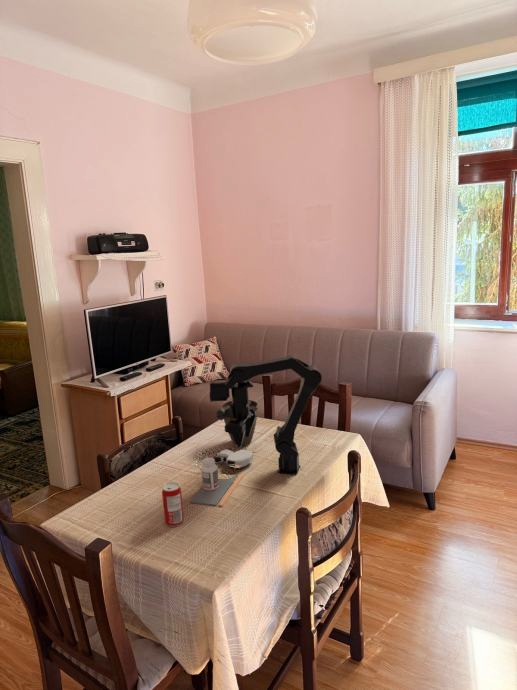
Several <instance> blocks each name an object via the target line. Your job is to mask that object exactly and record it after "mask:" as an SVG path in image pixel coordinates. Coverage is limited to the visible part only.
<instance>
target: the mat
mask: <svg viewBox="0 0 517 690" xmlns="http://www.w3.org/2000/svg"><path fill="white" fill-rule="evenodd" d="M235 475H236V476H233V477H232V478H229V479H218V480H219V487H218V488H217V489H215V490H205V489H204V488H203V485H202V486H201V487H200V489H198V491H197V492H196V493H195V494H194V496H193V497H191V498H192V499H191V500H190V501H189V503H190V504H196V505H197V504H198V505H206V506H213V507H217V505H219V504H220V502H221V501H222V499H223V498H224V497H225V495H226V494H227V492H228V491H229V489H230V488H231V487H232V485H233V484H234V482H235V481H236V479H237V478H238V474H235ZM236 477H237V478H236ZM235 478H236V479H235ZM233 481H234V482H233Z"/></svg>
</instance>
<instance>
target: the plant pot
mask: <svg viewBox="0 0 517 690" xmlns="http://www.w3.org/2000/svg"><path fill="white" fill-rule="evenodd" d="M250 400H251V403H250V404H249V406H255V407H256V408H257V411H259V410H258V409H259V403H258V402H257V401H255V400H252V399H250ZM231 403H232V400H230V401H225V402H224V403H222V404H221V406H220V409H221V408H223V407H226V406H229V405H230V404H231ZM257 418H258V414H257V415H256V419H255V421H254V424H253V427H252V429H251V432H250V435H249V437H246V435H245V434H244V438H243V441H242V445H241V447H244V446H247V445H250V444H251V442H252V440H253V438H254V434H255V431H256V430H255V429H256V424H257V421H258V420H257ZM223 420H224V426H225V425H226V424H227V423H228V422H229V421H230V420H236V419H230V417H228V418H225V419H223ZM228 436H229V437H230V439H231V441H232V444H233V445H234V446H237V445H236V442H235V440H234V437H233V436H232V434H230V433H228Z"/></svg>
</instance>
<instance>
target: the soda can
mask: <svg viewBox="0 0 517 690" xmlns="http://www.w3.org/2000/svg"><path fill="white" fill-rule="evenodd" d="M161 494H162V503H163V515H164V523H165V524H166V526H168V527H178V526H180V525H182V524H183V523H184V519H185V518H184V517H185V516H184V507H183V499H182V498H183V497H182V488H181V486H180V483H179V482H176V481H172V482H167V483H165V484H163V486H162V491H161Z"/></svg>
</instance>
